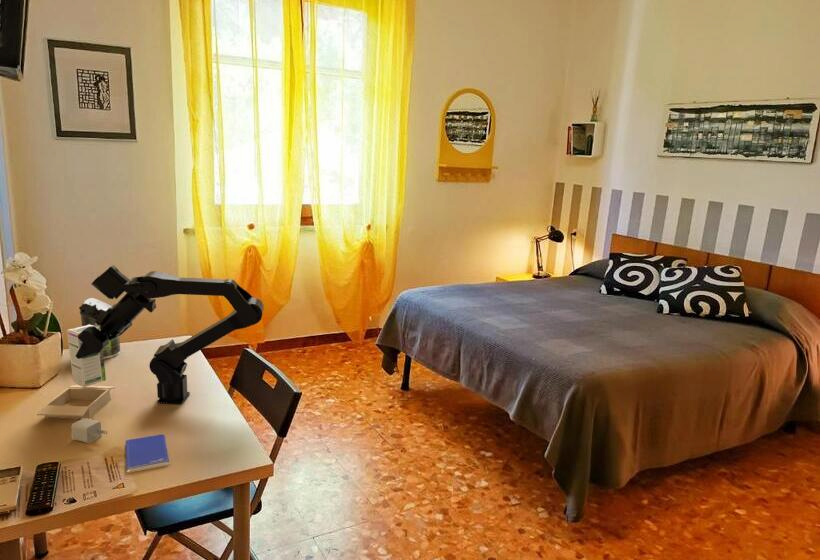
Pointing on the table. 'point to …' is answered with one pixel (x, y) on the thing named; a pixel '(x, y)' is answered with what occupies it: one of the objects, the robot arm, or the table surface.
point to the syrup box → (85, 361)
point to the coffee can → (113, 345)
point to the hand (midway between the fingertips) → (84, 351)
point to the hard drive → (146, 453)
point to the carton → (82, 393)
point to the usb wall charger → (87, 430)
